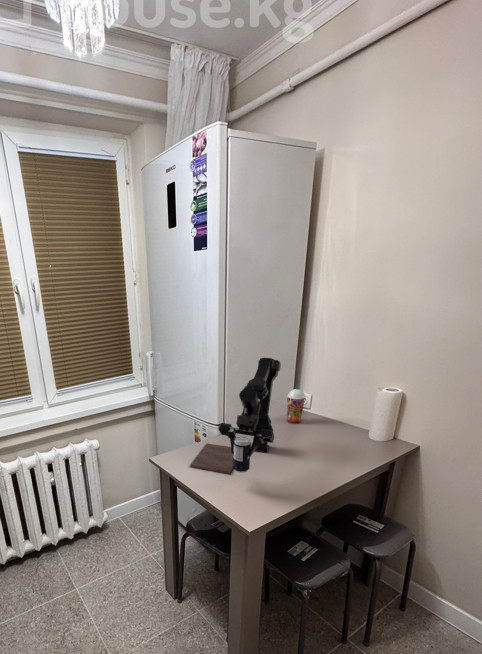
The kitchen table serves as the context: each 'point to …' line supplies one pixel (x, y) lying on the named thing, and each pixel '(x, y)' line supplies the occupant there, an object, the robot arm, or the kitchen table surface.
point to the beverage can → (241, 454)
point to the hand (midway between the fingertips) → (240, 454)
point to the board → (214, 459)
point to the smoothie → (295, 405)
